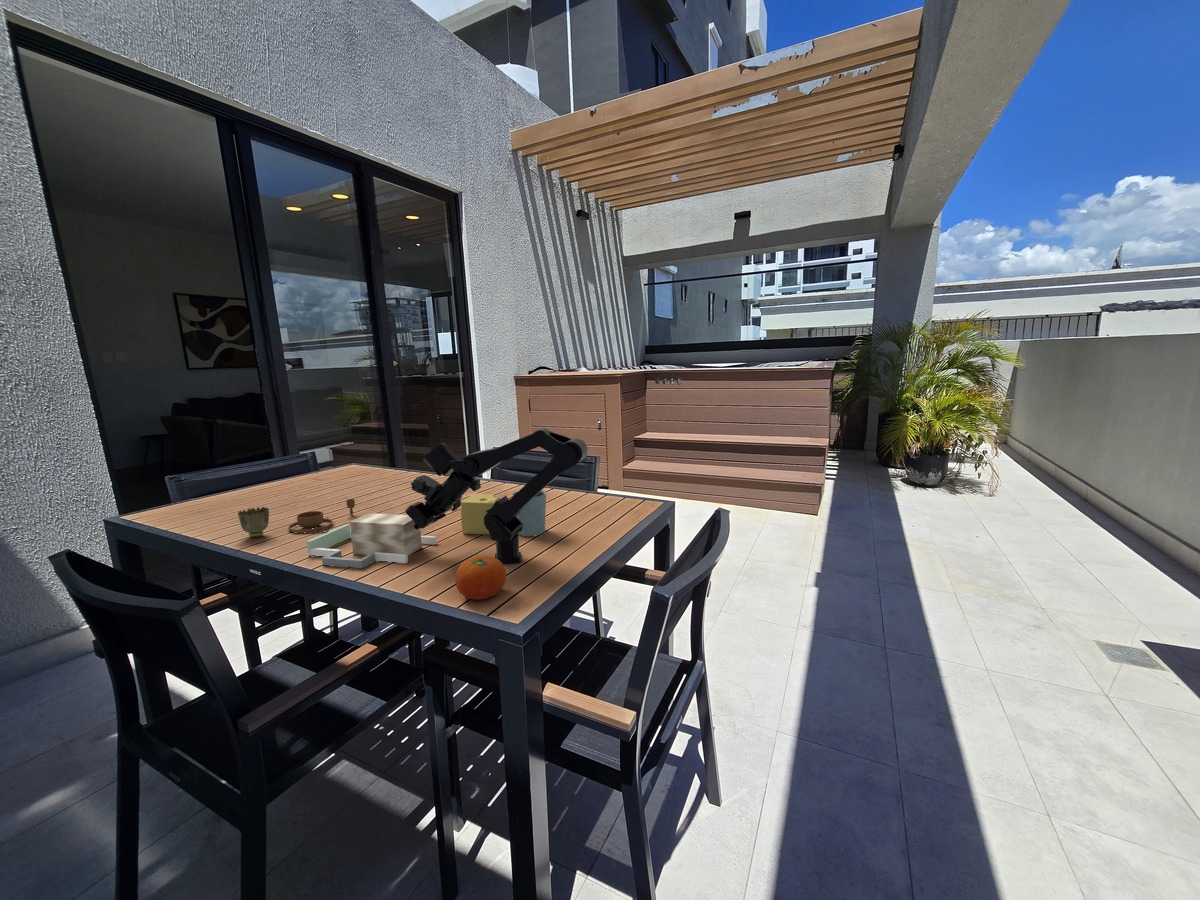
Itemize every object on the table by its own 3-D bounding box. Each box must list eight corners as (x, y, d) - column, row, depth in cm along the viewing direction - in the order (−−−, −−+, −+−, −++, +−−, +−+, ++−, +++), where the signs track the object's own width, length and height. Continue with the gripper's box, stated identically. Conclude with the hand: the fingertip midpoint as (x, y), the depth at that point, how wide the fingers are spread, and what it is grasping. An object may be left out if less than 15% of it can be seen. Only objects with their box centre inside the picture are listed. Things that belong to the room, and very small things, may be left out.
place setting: (285, 525, 154) (284, 507, 154) (355, 514, 166) (353, 498, 165) (291, 540, 141) (289, 520, 140) (366, 527, 153) (365, 509, 152)
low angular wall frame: (445, 537, 141) (444, 524, 141) (393, 571, 117) (392, 555, 116) (359, 531, 146) (358, 519, 146) (292, 563, 122) (291, 547, 122)
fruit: (467, 583, 110) (466, 549, 109) (512, 585, 109) (511, 551, 108) (448, 605, 100) (446, 568, 98) (497, 608, 98) (495, 570, 97)
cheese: (505, 524, 154) (504, 493, 152) (494, 536, 143) (493, 502, 141) (473, 523, 155) (471, 493, 153) (460, 534, 144) (458, 501, 142)
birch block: (421, 547, 134) (419, 515, 132) (405, 558, 126) (403, 524, 124) (371, 544, 136) (369, 513, 135) (353, 554, 128) (350, 521, 127)
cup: (239, 536, 143) (236, 509, 142) (269, 530, 148) (266, 505, 146) (242, 542, 137) (239, 515, 136) (273, 536, 142) (270, 510, 141)
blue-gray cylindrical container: (532, 539, 139) (531, 499, 137) (505, 534, 144) (504, 494, 143) (553, 530, 148) (553, 491, 146) (527, 525, 153) (527, 487, 151)
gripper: (449, 460, 134) (414, 497, 138) (410, 473, 116) (372, 515, 119) (476, 489, 134) (441, 525, 137) (442, 507, 115) (403, 548, 119)
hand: (415, 527), depth 128 cm, fingers closed
